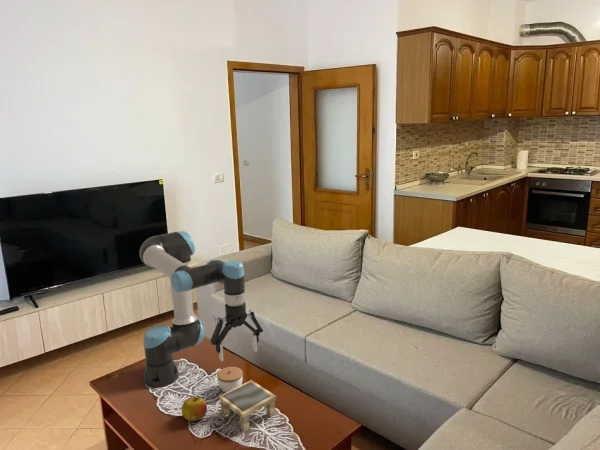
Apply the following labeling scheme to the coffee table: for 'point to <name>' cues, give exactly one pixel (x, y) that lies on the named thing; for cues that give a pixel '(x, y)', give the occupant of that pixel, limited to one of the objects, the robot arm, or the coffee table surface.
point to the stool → (247, 401)
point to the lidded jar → (230, 378)
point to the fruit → (194, 409)
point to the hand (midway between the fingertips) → (238, 354)
